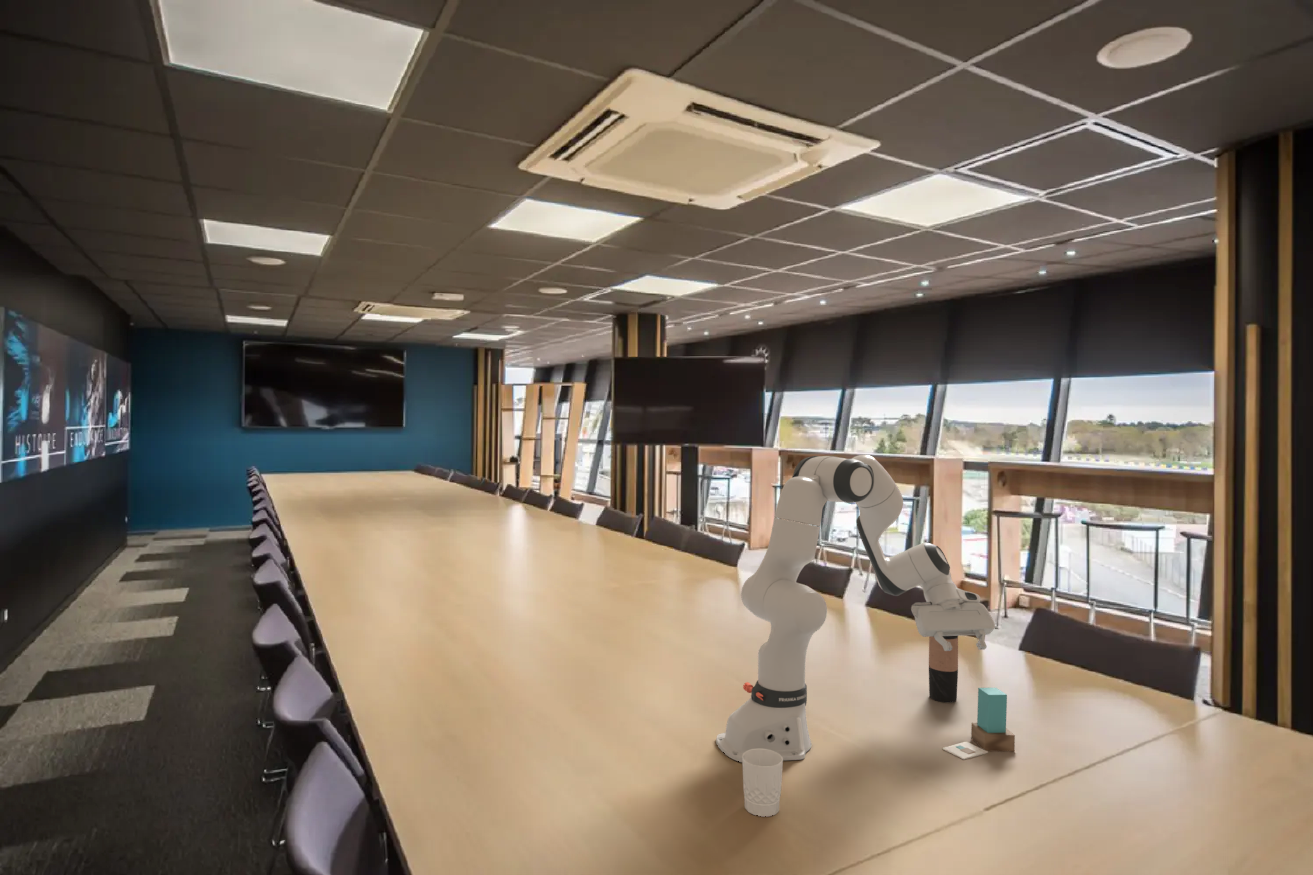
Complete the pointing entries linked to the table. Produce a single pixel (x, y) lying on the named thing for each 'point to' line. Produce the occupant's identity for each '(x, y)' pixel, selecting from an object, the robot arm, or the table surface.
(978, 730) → the walnut brick
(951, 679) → the travel mug
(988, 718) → the teal brick
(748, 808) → the white cup
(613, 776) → the table surface
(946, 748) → the page
